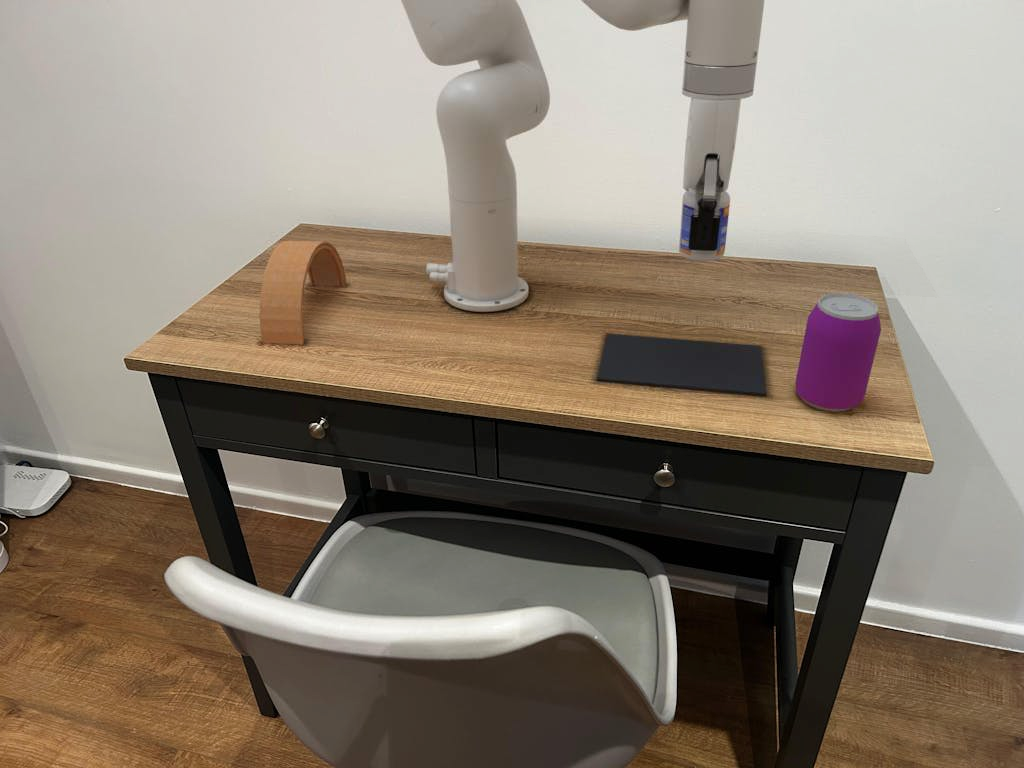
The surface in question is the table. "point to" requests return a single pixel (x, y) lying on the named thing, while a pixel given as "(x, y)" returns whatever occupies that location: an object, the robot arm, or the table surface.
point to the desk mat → (683, 364)
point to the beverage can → (838, 352)
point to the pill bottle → (686, 221)
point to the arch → (294, 286)
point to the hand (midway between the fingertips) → (702, 238)
